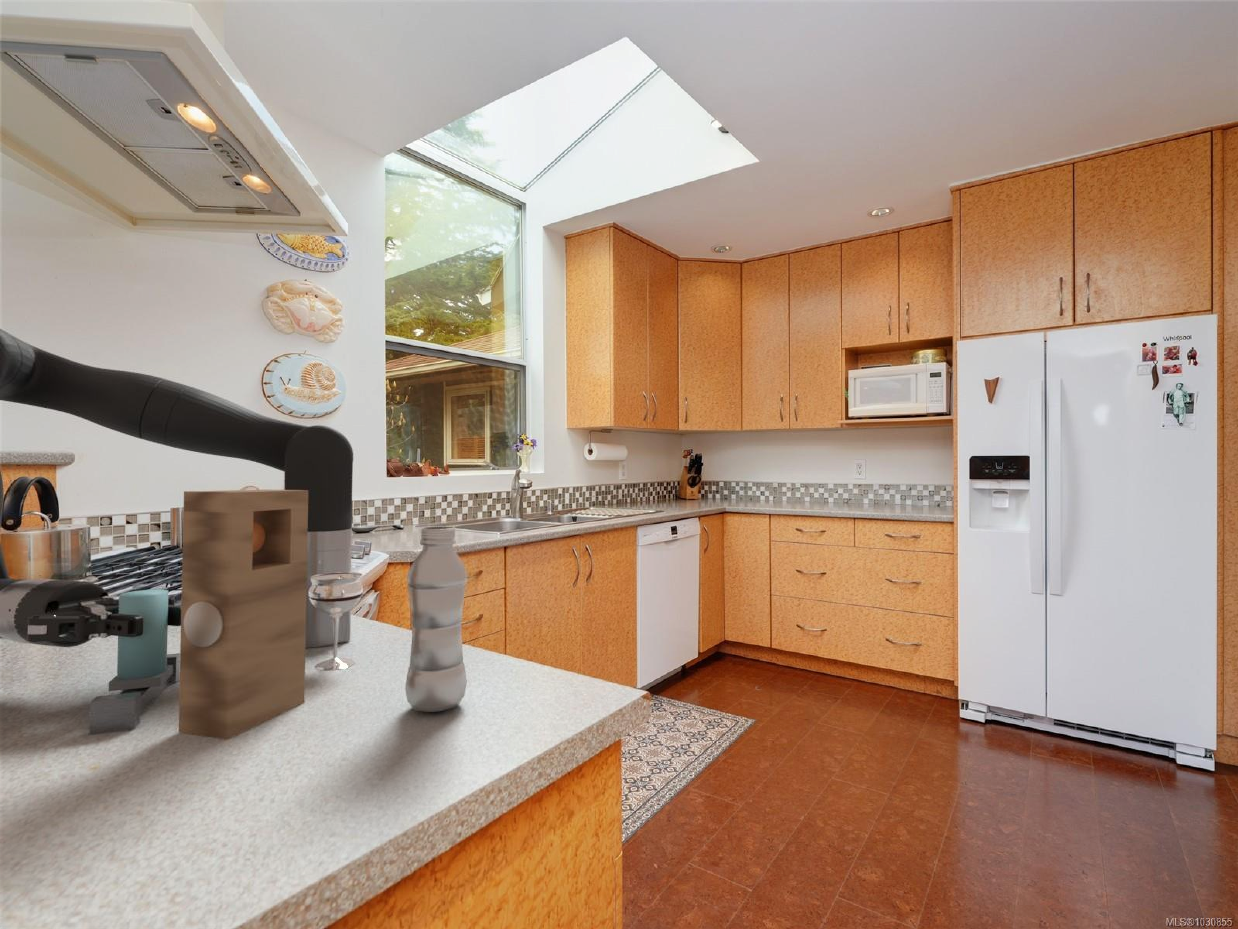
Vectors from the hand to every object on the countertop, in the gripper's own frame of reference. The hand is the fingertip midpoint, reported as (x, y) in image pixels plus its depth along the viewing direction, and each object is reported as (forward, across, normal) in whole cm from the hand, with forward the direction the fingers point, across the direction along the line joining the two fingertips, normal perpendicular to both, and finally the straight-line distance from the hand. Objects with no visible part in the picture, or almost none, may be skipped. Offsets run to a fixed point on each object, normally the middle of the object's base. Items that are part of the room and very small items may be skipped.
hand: (162, 621), depth 68 cm
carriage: (-3, 0, +7) cm, 8 cm away
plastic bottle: (+30, +7, +9) cm, 32 cm away
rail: (-2, 0, +9) cm, 9 cm away
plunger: (+9, 0, -8) cm, 12 cm away
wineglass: (+9, +17, +9) cm, 21 cm away
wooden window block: (+12, 0, +9) cm, 15 cm away
